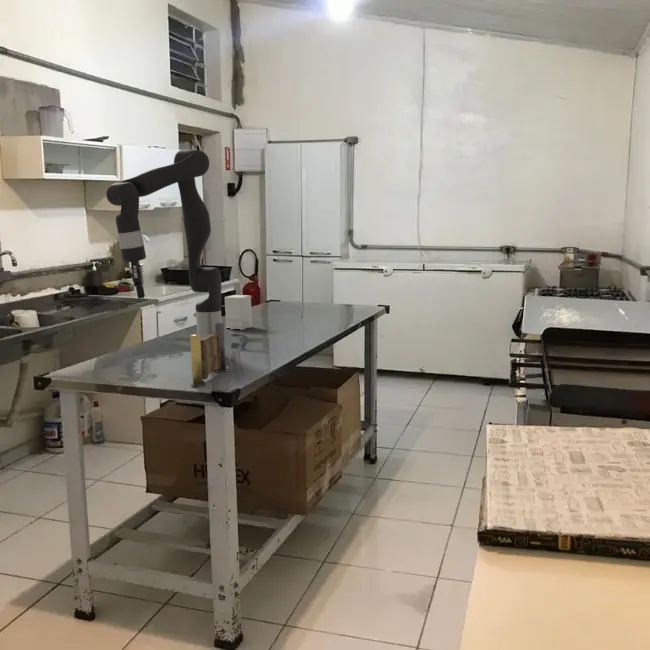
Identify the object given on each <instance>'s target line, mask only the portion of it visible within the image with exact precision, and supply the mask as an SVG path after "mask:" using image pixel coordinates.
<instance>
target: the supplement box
mask: <svg viewBox="0 0 650 650" xmlns="http://www.w3.org/2000/svg"><path fill="white" fill-rule="evenodd" d="M224 310H225V327H226V328H230V329H229V330H234V329H240V330H239V331H243V330H247V329H250V328H253V316H252V295H248V294H247V295H246V294H245V295H243V294H232V295H227V296H224ZM226 328H225V329H226ZM246 328H247V329H246Z"/></svg>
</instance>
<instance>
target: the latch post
mask: <svg viewBox="0 0 650 650" xmlns="http://www.w3.org/2000/svg"><path fill="white" fill-rule="evenodd" d="M189 337H190V338H189V339H190V341H189V342H190V353H191V354H190V355H191V357H190V358H191V375H192V381H191V382H190V387H191V386H204V387H205V385H206V384H205V380H203V379H202V362H201V343H200V334H197V333H196V334H195V333H193V334H190V335H189Z"/></svg>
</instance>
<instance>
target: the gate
mask: <svg viewBox="0 0 650 650" xmlns="http://www.w3.org/2000/svg"><path fill="white" fill-rule="evenodd" d="M200 343H201V362H202V380H206V379H208V378H209V376H210V375H211V374H212V373H215V372H214V371H215V370H217V369H221V354H220V332H214V333H212V334H210V335H208V336H206V337H204V338H202V339H200Z"/></svg>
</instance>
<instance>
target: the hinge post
mask: <svg viewBox="0 0 650 650" xmlns="http://www.w3.org/2000/svg"><path fill="white" fill-rule="evenodd" d="M215 332H220V354H221V369H217V370H215V371H224V372H227V371H226V370H230V371H231V369H230V366H229V365H227V364H226V345H225V344H226V343H225V342H226V341H225V325H224V322H222V323H216V324H215Z"/></svg>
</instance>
